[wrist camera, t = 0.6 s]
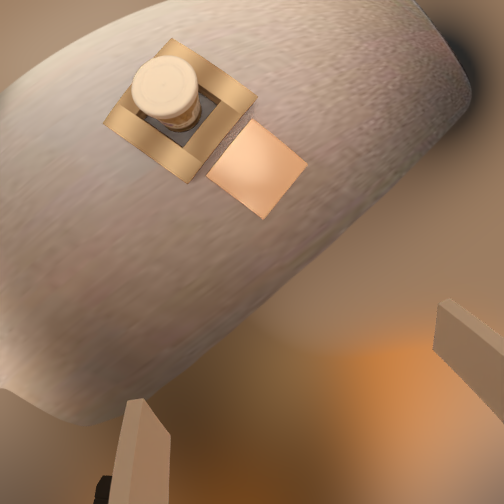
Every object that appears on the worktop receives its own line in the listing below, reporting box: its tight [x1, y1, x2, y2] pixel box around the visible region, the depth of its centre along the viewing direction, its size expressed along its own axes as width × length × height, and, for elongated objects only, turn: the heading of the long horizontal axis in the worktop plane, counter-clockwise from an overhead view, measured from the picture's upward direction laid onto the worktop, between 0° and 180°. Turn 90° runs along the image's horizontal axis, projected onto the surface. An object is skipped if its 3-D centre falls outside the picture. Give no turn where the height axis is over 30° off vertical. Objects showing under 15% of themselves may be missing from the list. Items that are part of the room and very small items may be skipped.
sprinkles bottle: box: [131, 55, 202, 132], centre depth 23 cm, size 5×5×14 cm
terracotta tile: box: [206, 119, 308, 220], centre depth 32 cm, size 8×8×1 cm
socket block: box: [103, 38, 258, 184], centre depth 27 cm, size 11×11×4 cm
